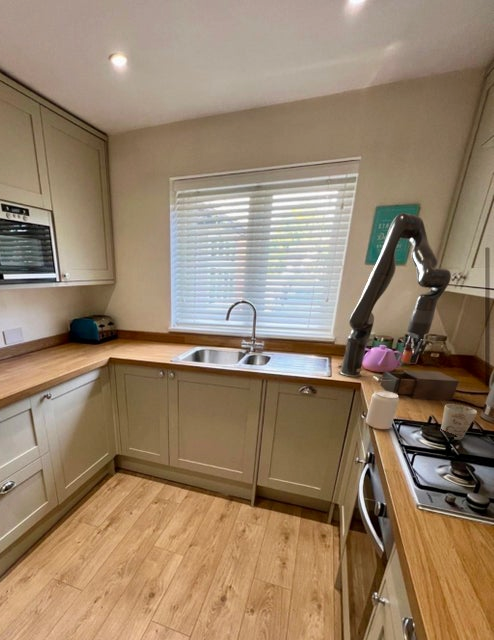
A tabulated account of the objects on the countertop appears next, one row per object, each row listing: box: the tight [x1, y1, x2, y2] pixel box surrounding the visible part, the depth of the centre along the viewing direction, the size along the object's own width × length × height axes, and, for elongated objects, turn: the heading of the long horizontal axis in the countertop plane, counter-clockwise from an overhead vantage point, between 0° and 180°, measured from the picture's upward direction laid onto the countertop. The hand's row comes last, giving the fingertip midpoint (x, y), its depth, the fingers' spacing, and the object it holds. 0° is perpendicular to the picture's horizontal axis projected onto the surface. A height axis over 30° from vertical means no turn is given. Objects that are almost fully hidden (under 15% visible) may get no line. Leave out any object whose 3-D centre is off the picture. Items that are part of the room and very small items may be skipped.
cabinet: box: [401, 369, 460, 401], centre depth 149 cm, size 16×14×9 cm
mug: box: [440, 403, 478, 441], centre depth 111 cm, size 8×13×10 cm, turn 135°
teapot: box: [362, 344, 403, 373], centre depth 181 cm, size 22×22×14 cm
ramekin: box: [400, 349, 420, 365], centre depth 140 cm, size 6×6×5 cm
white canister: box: [365, 390, 400, 430], centre depth 116 cm, size 8×8×12 cm
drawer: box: [372, 371, 417, 395], centre depth 150 cm, size 21×12×7 cm, turn 83°
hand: (408, 360), depth 141 cm, fingers closed on ramekin, 5 cm apart
